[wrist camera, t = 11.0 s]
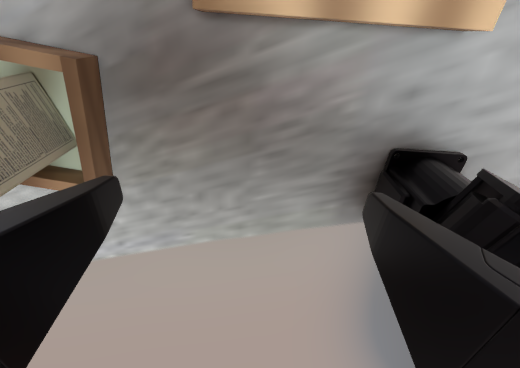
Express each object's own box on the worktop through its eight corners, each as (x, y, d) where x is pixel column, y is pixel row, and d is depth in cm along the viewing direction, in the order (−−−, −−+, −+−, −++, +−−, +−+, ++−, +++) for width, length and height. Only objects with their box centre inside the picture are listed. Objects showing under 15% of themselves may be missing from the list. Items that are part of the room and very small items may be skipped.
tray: (97, 55, 19) (75, 59, 17) (113, 182, 24) (98, 196, 22) (-65, 23, 18) (-110, 22, 16) (-10, 162, 23) (-37, 175, 21)
